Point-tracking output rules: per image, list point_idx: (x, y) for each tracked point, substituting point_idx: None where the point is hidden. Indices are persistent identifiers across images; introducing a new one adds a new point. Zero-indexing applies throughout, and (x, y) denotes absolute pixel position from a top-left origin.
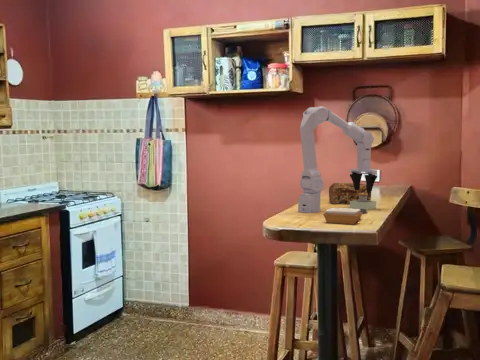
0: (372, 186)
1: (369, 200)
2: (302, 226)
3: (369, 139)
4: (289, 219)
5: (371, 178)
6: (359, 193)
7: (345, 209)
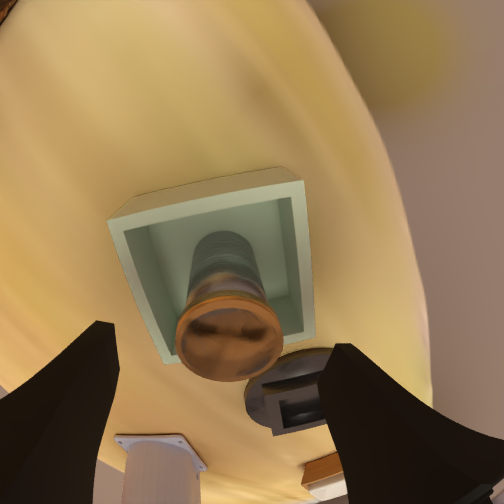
0: (388, 383)
1: (228, 198)
2: (305, 497)
3: None
4: (222, 495)
5: (422, 485)
6: (219, 379)
7: None
